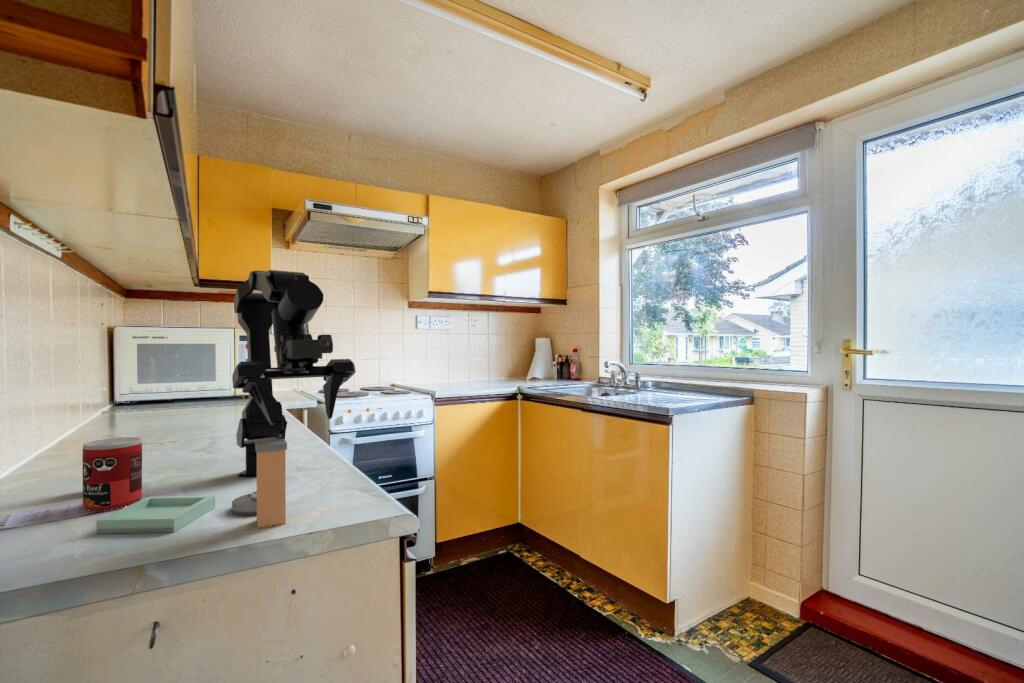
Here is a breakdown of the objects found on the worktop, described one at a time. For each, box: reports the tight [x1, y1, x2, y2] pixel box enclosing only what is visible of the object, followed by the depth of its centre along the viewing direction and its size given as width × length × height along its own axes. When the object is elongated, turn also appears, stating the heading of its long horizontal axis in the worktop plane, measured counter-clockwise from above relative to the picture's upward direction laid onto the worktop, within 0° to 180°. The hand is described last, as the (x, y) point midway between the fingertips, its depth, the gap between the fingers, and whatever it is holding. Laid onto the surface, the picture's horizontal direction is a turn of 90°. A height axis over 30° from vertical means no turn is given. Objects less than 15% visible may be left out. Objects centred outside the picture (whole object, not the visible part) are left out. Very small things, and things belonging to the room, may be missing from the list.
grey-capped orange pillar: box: [255, 438, 288, 529], centre depth 77 cm, size 4×4×12 cm
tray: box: [96, 495, 216, 535], centre depth 78 cm, size 11×11×2 cm
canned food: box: [82, 436, 143, 512], centre depth 85 cm, size 8×8×11 cm
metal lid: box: [231, 490, 257, 517], centre depth 83 cm, size 8×8×2 cm
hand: (302, 421), depth 82 cm, fingers open, 9 cm apart
